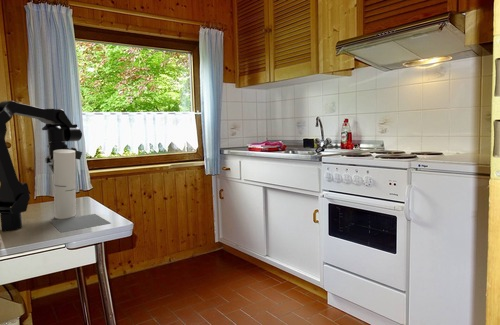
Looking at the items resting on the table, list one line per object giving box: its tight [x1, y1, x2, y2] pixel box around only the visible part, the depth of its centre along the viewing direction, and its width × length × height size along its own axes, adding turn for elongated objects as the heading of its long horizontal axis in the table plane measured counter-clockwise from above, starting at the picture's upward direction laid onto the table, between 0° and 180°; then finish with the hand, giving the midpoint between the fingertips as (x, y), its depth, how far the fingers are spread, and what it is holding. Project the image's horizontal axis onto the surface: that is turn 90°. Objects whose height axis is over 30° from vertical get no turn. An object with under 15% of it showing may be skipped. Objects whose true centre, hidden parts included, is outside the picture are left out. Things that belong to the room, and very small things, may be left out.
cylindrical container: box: [53, 149, 77, 220], centre depth 132 cm, size 7×7×25 cm
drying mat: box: [49, 213, 112, 233], centre depth 125 cm, size 20×16×1 cm
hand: (60, 182), depth 138 cm, fingers closed
